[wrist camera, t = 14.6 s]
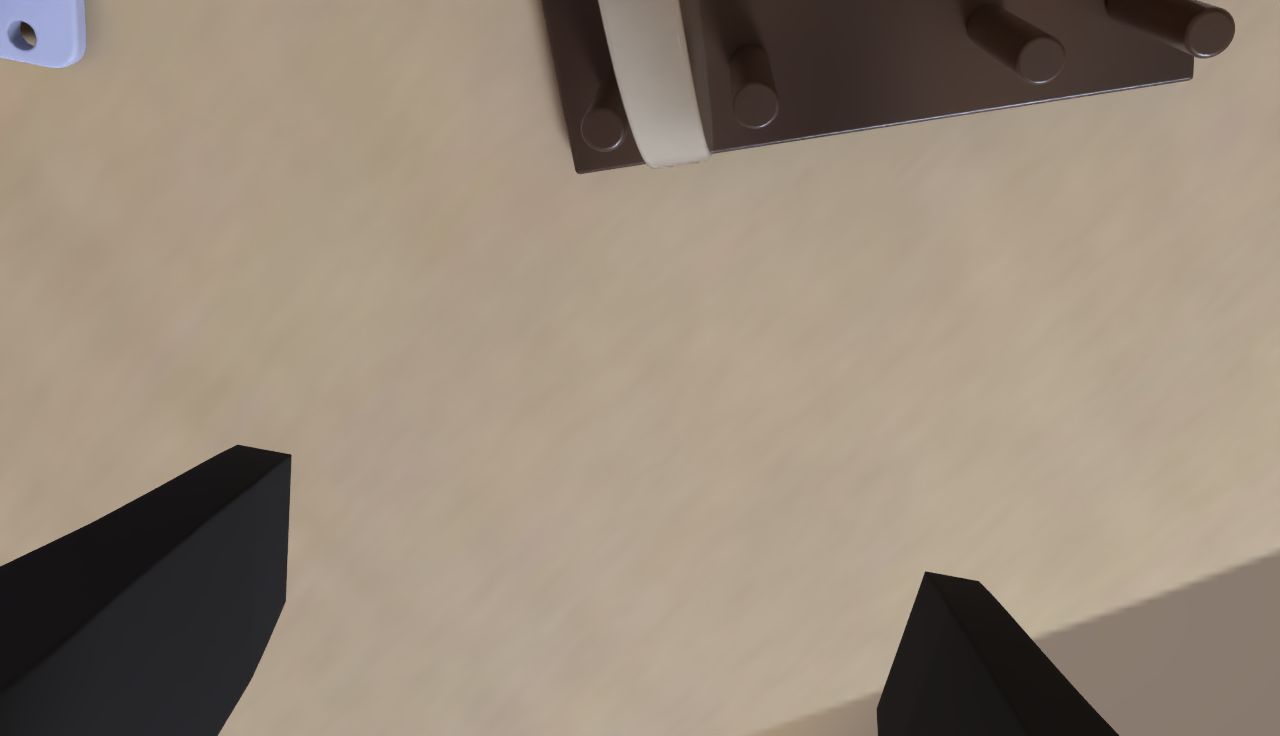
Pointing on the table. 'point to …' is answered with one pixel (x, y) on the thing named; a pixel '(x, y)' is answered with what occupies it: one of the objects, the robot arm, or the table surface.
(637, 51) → the cream saucer
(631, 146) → the plate rack
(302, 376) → the table surface
